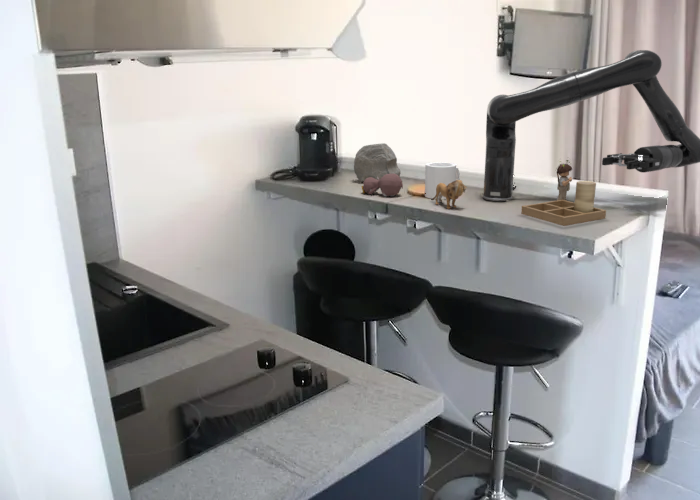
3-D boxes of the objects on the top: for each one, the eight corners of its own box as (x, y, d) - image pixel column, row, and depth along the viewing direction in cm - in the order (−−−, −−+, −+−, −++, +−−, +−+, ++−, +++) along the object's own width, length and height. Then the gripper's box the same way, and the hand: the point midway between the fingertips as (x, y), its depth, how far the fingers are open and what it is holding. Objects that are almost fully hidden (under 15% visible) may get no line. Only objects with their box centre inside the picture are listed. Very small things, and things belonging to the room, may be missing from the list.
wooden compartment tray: (521, 215, 187) (521, 205, 186) (561, 209, 194) (562, 199, 193) (563, 228, 173) (564, 217, 172) (605, 220, 180) (606, 210, 179)
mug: (444, 190, 223) (445, 160, 220) (467, 194, 215) (469, 163, 212) (418, 195, 214) (419, 164, 211) (441, 200, 207) (442, 168, 204)
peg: (571, 214, 185) (575, 180, 182) (590, 215, 184) (594, 180, 181) (574, 218, 180) (578, 184, 177) (594, 219, 179) (597, 184, 176)
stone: (350, 182, 239) (349, 142, 235) (361, 179, 244) (361, 140, 240) (391, 187, 228) (392, 145, 224) (402, 184, 234) (403, 143, 229)
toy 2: (569, 206, 197) (573, 158, 193) (551, 204, 200) (555, 157, 195) (574, 202, 202) (578, 156, 198) (556, 201, 205) (560, 154, 200)
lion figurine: (468, 208, 196) (469, 180, 193) (455, 211, 193) (456, 182, 190) (436, 200, 207) (437, 173, 205) (424, 202, 205) (425, 174, 202)
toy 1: (364, 203, 220) (403, 201, 212) (355, 186, 215) (395, 183, 207) (371, 187, 225) (410, 184, 217) (363, 170, 220) (402, 167, 212)
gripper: (633, 143, 195) (596, 147, 187) (675, 148, 183) (638, 153, 175) (630, 167, 197) (594, 172, 190) (672, 174, 185) (635, 180, 178)
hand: (615, 163), depth 183 cm, fingers open, 8 cm apart
